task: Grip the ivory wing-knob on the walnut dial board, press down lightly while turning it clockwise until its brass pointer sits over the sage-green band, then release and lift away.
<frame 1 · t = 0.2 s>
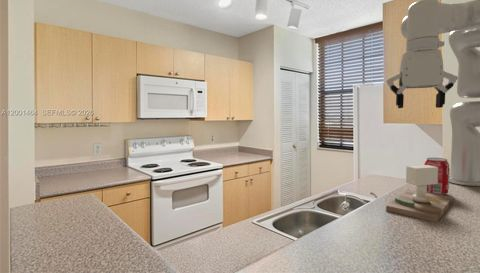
hand: (419, 107, 77), 29 cm above the countertop, tool pointing down, fingers open, 9 cm apart
dial board: (420, 206, 80), on the countertop
knob: (427, 185, 77), point 7 cm above the countertop, hinge at 55.0°
soda can: (435, 193, 92), on the countertop
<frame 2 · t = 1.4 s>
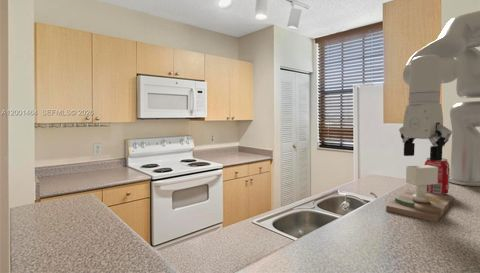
hand: (421, 158, 78), 15 cm above the countertop, tool pointing down, fingers open, 9 cm apart
nothing on the countertop moved.
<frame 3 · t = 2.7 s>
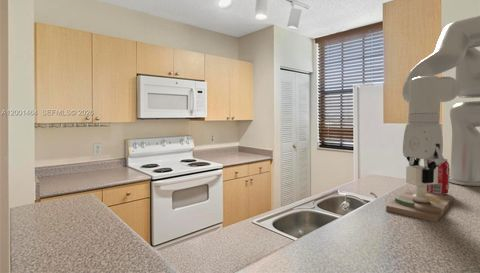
hand: (421, 180, 79), 8 cm above the countertop, tool pointing down, fingers closed on knob, 3 cm apart
knob: (427, 185, 77), point 7 cm above the countertop, hinge at 55.0°, touching gripper
everything else where it was.
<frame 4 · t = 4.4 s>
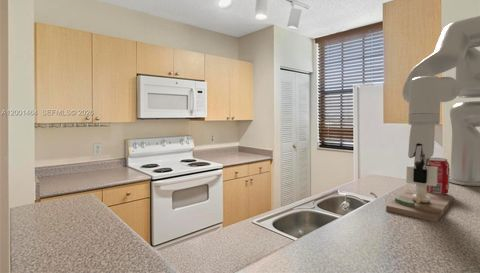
hand: (421, 180, 79), 8 cm above the countertop, tool pointing down, fingers closed on knob, 3 cm apart
knob: (420, 185, 78), point 7 cm above the countertop, hinge at 6.0°, touching gripper
everything else where it was.
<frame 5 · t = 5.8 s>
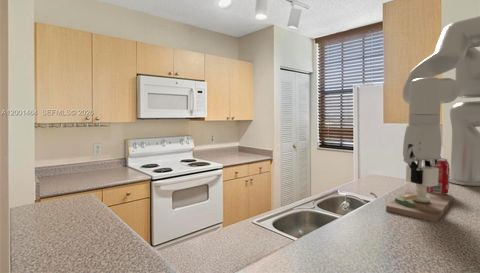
hand: (421, 181, 79), 7 cm above the countertop, tool pointing down, fingers closed on knob, 3 cm apart
knob: (415, 184, 79), point 7 cm above the countertop, hinge at -24.7°, touching gripper
everything else where it was.
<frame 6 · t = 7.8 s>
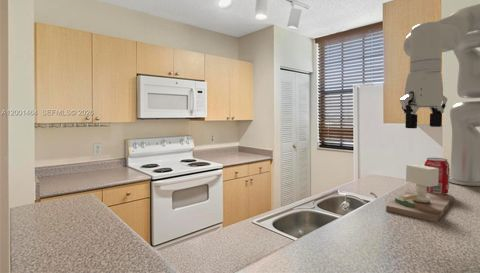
hand: (423, 127, 78), 24 cm above the countertop, tool pointing down, fingers open, 9 cm apart
knob: (415, 184, 79), point 7 cm above the countertop, hinge at -24.7°
everything else where it was.
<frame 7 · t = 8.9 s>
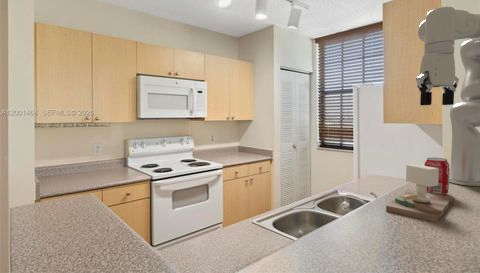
hand: (436, 105, 85), 30 cm above the countertop, tool pointing down, fingers open, 9 cm apart
nothing on the countertop moved.
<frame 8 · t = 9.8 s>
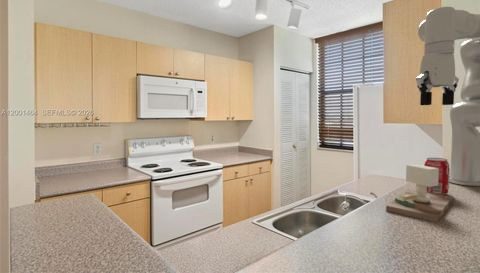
hand: (436, 105, 85), 30 cm above the countertop, tool pointing down, fingers open, 9 cm apart
nothing on the countertop moved.
at the end: knob at -25° (first picture: +55°); the gripper is holding nothing; soda can moved 0.2 cm from its start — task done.
